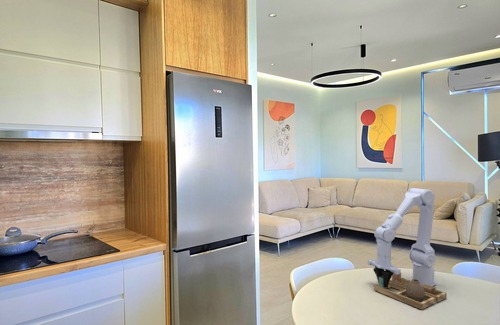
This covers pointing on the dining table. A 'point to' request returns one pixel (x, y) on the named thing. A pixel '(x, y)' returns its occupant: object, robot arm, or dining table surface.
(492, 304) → the dining table surface
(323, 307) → the dining table surface
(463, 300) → the dining table surface
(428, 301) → the tray
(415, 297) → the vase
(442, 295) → the frame
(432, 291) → the walnut cube
